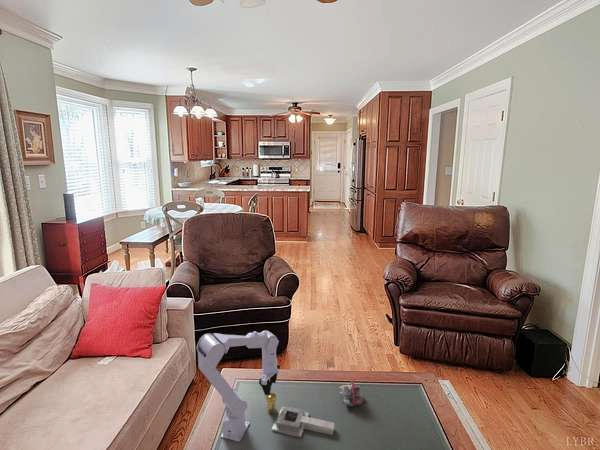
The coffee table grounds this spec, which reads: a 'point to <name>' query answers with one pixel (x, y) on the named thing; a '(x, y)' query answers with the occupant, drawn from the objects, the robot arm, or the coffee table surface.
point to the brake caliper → (351, 394)
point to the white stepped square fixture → (300, 423)
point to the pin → (271, 403)
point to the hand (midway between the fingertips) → (270, 388)
